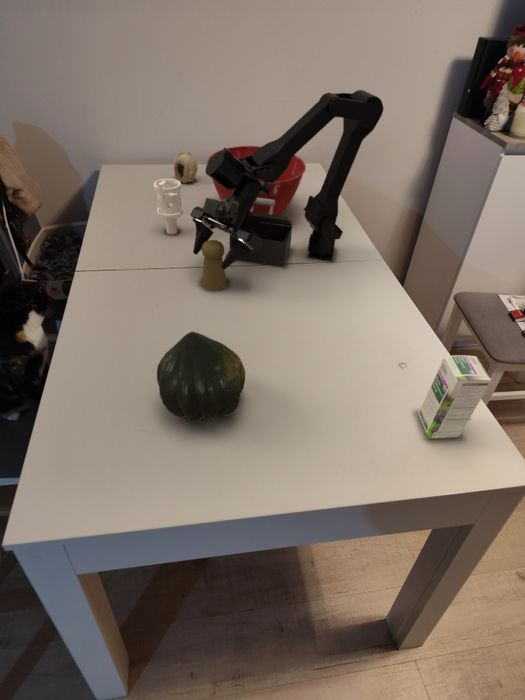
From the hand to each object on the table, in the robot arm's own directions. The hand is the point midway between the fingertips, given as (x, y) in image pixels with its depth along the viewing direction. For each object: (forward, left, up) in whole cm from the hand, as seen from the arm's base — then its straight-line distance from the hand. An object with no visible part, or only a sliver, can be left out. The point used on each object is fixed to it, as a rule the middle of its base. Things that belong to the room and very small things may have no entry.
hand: (208, 261), depth 103 cm
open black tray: (-9, -18, -7) cm, 21 cm away
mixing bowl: (-2, -42, -7) cm, 43 cm away
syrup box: (-52, +31, -7) cm, 61 cm away
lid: (-9, -19, +3) cm, 21 cm away
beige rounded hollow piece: (+27, -60, -2) cm, 66 cm away
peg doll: (-1, -1, -7) cm, 7 cm away
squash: (-10, +36, -7) cm, 38 cm away
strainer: (+18, -23, -7) cm, 30 cm away
